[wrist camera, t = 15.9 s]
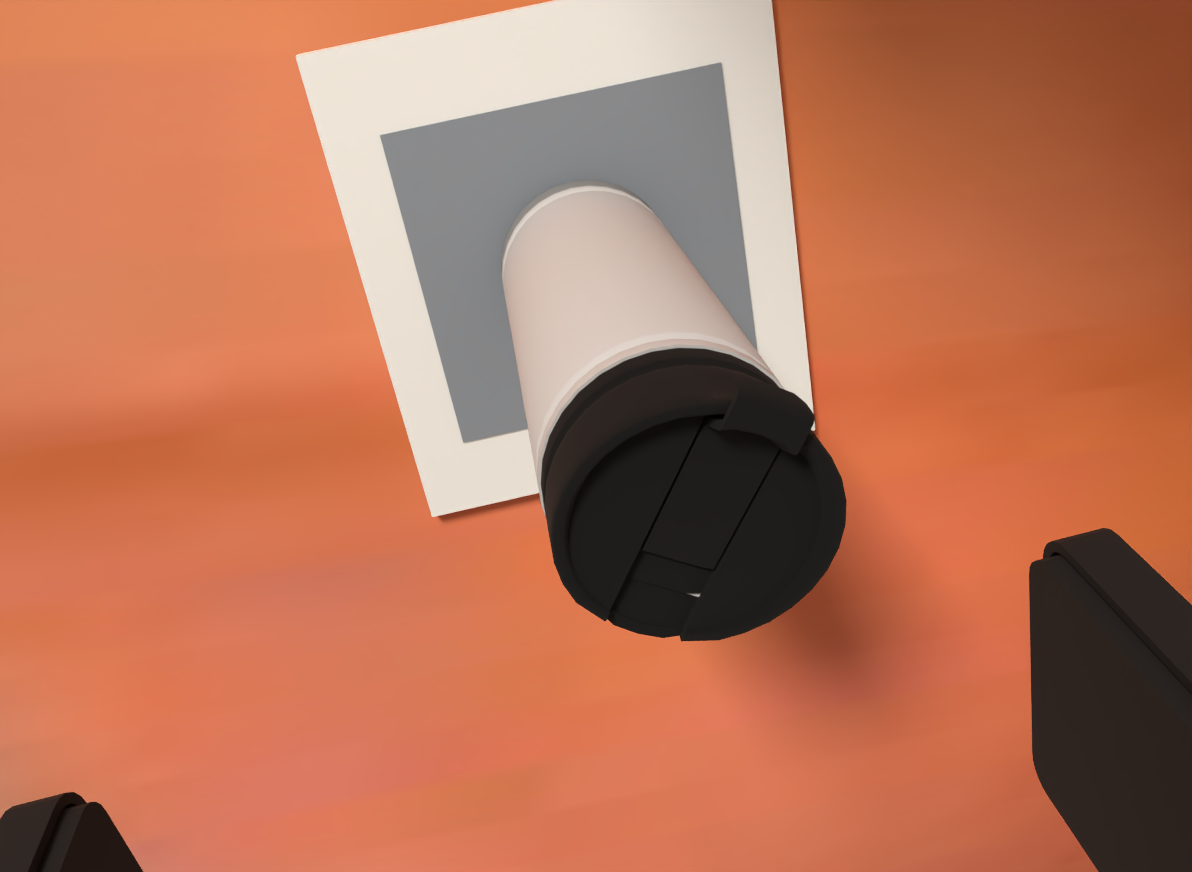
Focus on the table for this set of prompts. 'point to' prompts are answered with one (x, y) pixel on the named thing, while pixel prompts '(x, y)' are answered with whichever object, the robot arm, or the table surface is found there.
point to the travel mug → (658, 427)
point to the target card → (536, 164)
